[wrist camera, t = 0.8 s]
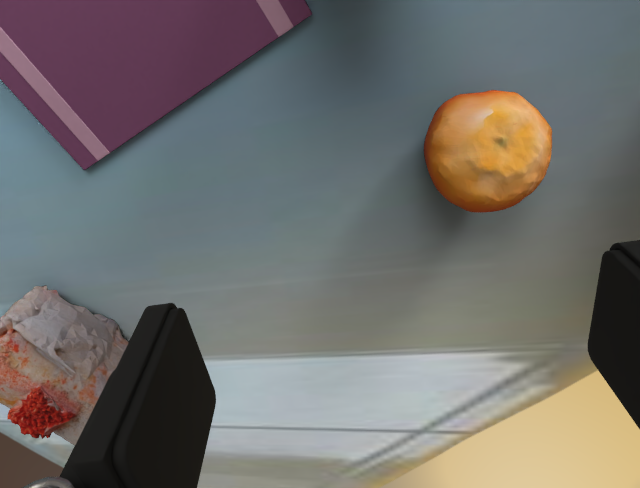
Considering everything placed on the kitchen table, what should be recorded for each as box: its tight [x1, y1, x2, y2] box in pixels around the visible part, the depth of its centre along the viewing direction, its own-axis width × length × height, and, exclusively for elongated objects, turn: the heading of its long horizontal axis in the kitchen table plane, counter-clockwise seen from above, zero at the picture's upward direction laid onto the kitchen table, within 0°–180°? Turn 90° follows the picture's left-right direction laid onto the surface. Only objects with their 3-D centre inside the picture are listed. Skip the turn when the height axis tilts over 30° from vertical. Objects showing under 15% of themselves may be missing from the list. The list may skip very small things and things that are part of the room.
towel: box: [0, 0, 312, 170], centre depth 31 cm, size 20×12×1 cm, turn 122°
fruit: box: [424, 90, 552, 212], centre depth 33 cm, size 8×8×8 cm
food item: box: [0, 286, 129, 445], centre depth 40 cm, size 14×8×10 cm, turn 44°
